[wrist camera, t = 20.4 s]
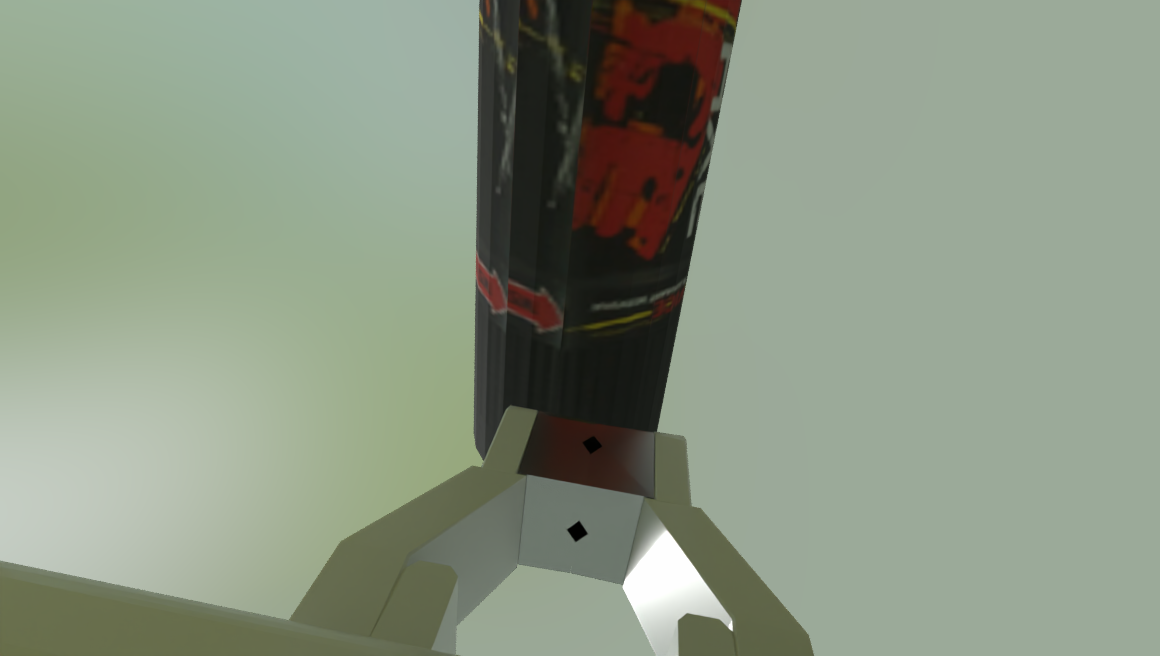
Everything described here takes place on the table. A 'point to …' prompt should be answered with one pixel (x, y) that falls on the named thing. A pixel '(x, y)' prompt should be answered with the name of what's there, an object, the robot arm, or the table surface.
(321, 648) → the robot arm
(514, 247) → the deodorant
